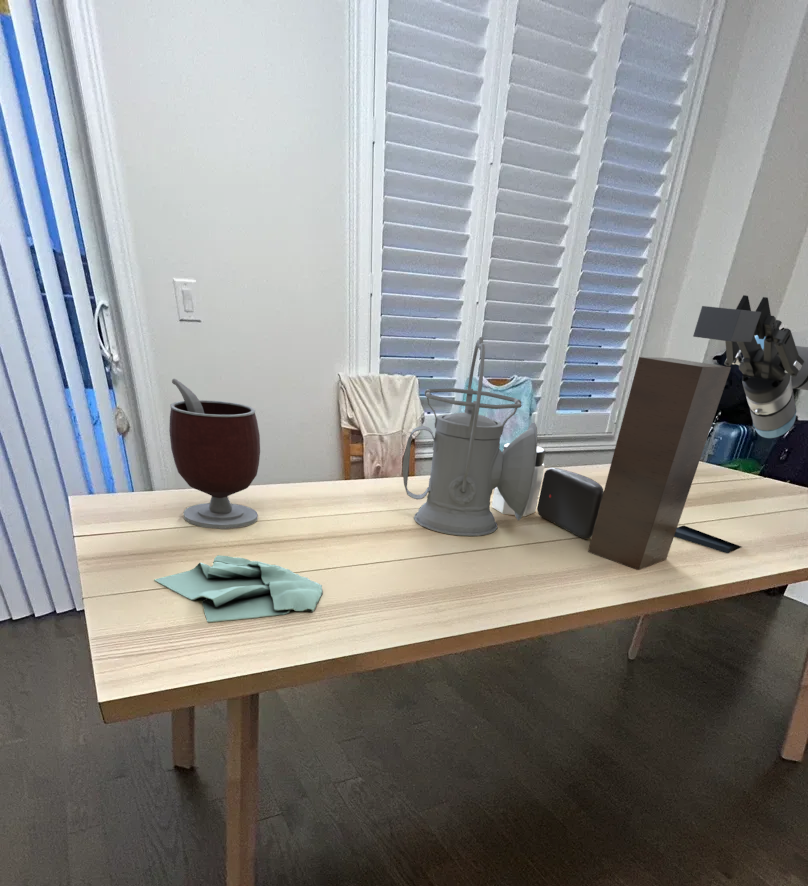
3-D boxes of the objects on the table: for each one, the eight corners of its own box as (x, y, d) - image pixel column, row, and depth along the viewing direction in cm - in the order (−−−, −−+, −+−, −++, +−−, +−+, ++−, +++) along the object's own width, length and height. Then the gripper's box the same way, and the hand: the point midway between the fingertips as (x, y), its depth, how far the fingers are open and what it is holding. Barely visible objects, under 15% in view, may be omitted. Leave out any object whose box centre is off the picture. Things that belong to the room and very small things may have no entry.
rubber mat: (702, 522, 134) (704, 518, 134) (759, 539, 128) (761, 534, 127) (668, 534, 125) (669, 529, 124) (727, 553, 118) (729, 548, 117)
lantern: (522, 547, 110) (562, 349, 93) (396, 534, 109) (414, 332, 93) (508, 511, 128) (539, 339, 111) (399, 500, 127) (415, 326, 110)
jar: (485, 504, 131) (494, 442, 124) (518, 503, 134) (530, 442, 127) (506, 517, 124) (518, 453, 117) (541, 516, 127) (555, 453, 120)
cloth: (335, 617, 80) (335, 599, 79) (151, 625, 74) (148, 605, 73) (308, 558, 96) (308, 543, 95) (155, 561, 90) (153, 544, 89)
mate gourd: (279, 518, 111) (276, 391, 100) (220, 536, 101) (210, 396, 90) (215, 498, 117) (206, 376, 106) (154, 513, 107) (136, 380, 96)
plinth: (616, 542, 117) (669, 357, 101) (666, 559, 112) (731, 367, 95) (587, 551, 111) (638, 356, 95) (638, 570, 106) (702, 366, 89)
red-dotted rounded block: (604, 540, 118) (618, 488, 112) (585, 542, 116) (598, 489, 111) (551, 513, 129) (562, 465, 124) (533, 514, 128) (543, 465, 122)
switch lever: (743, 338, 110) (752, 311, 108) (778, 342, 107) (788, 314, 104) (692, 336, 98) (701, 305, 96) (730, 341, 95) (741, 309, 92)
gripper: (799, 411, 116) (788, 334, 97) (717, 396, 124) (692, 323, 105) (822, 370, 114) (815, 284, 95) (737, 358, 123) (716, 277, 104)
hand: (750, 305), depth 100 cm, fingers closed on switch lever, 2 cm apart
